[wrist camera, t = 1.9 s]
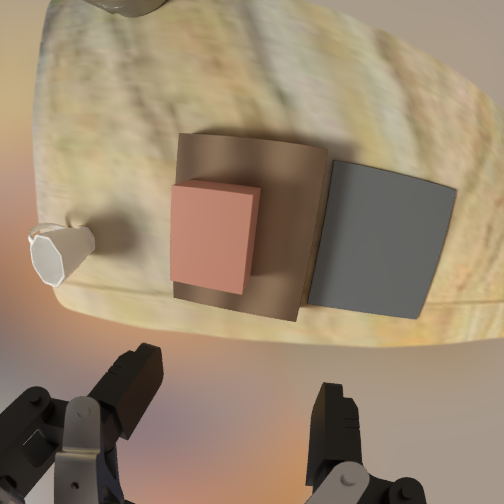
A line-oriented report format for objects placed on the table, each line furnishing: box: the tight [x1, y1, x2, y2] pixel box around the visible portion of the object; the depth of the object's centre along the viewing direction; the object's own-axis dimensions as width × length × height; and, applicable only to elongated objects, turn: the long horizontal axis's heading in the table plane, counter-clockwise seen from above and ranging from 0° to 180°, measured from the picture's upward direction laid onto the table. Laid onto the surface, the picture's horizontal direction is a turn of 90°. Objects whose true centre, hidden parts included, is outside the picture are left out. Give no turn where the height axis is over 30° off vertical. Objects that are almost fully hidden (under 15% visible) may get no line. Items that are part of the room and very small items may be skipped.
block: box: [170, 180, 261, 295], centre depth 27 cm, size 7×9×4 cm
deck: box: [173, 133, 327, 322], centre depth 30 cm, size 14×18×3 cm
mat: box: [307, 160, 456, 319], centre depth 29 cm, size 14×16×1 cm
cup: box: [29, 223, 96, 288], centre depth 33 cm, size 7×10×8 cm
